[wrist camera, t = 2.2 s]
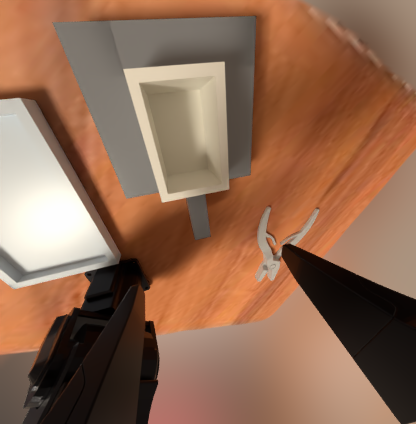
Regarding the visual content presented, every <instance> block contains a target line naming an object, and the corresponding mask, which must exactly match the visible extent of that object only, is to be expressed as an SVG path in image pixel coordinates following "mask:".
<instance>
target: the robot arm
mask: <svg viewBox="0 0 416 424" xmlns="http://www.w3.org/2000/svg"><path fill="white" fill-rule="evenodd" d="M281 255H282V258H283V260H284V261H285V263H286V265H287V266H288V268H289V270H290V271H291V273H292V275H293V276H294V278H295V279H296V281H297V282H298V284H299V285H300V286H301V288H302V289H303V291H304V292H305V293H306V295H307V296H308V297H309V299H310V300H311V301H312V303H313V304H314V306H315V307H316V308H317V310H318V311H319V312H320V314H321V315H322V316H323V318H324V319H325V321H326V322H327V323H328V325H329V326H330V327H331V329H332V330H333V331H334V333H335V334H336V336H337V337H338V338H339V340H340V341H341V343H342V344H343V345H344V347H345V348H346V350H347V351H348V352H349V354H350V355H351V356H352V357H353V359H354V361H355V362H356V363H357V365H358V366H359V368H360V369H361V370H362V372H363V373H364V374H365V376H366V377H367V379H368V380H369V381H370V383H371V384H372V385H373V387H374V388H375V390H376V391H377V392H378V394H379V395H380V396H381V397H382V399H383V401H384V402H385V403H386V405H387V406H388V407H389V409H390V410H391V411H392V413H393V414H394V416H395V417H396V418H397V419H398V421H399V422H400V423H401V424H409V423H413V422H416V299H414V298H411V297H409V296H406V295H404V294H401V293H398V292H396V291H393V290H391V289H389V288H386V287H384V286H382V285H379V284H377V283H375V282H372V281H370V280H368V279H366V278H364V277H361V276H359V275H356V274H355V273H353V272H350V271H348V270H346V269H344V268H342V267H339V266H337V265H335V264H333V263H331V262H329V261H327V260H325V259H323V258H320V257H318V256H316V255H314V254H312V253H310V252H307V251H305V250H303V249H301V248H299V247H297V246H294V245H292V244H290V243H288V244H284V245H283V247H282V252H281ZM133 262H135V263H133ZM85 276H86V278H87V279H88V280H89V281H90V282H91V284H90V286H89V288H88V290H87V292H86V295H85V297H84V299H85V300H84V303H83V305H82V307H81V309H80V308H75V307H74V308H73V310H72V311H71V312H70V313H69V315H67V314H66V315H64V316H60V317H57V318H56V319H55V320H54V322H53V324H52V326H51V328H50V329H49V331H48V333H47V335H46V337H45V339H44V341H43V342H42V344H41V347H40V349H39V351H38V353H37V356H36V358H35V360H34V363H33V365H32V367H31V369H30V371H29V374H28V378H29V381H30V386H29V389H28V394H27V397H26V400H25V403H24V406H23V409H26V408H30V409H29V411H28V413H27V415H26V417H25V419H24V421H23V423H22V424H148V419H149V413H150V409H151V404H152V400H153V396H154V394H155V391H156V388H157V385H158V380H156V379H157V375H158V370H159V352H158V345H157V340H156V334H155V328H154V322H153V321H145V293H144V291H146V290H149V289H150V284H149V282H148V280H147V278H146V276H145V274H144V272H143V270H142V268H141V266H140V264H139V262H138V260H137V259H130V260H126V261H122V262H119V264H115V265H111V266H107V267H103V268H99V269H95V270H91V271H87V272H85Z"/></svg>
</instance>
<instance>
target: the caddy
mask: <svg viewBox="0 0 416 424" xmlns="http://www.w3.org/2000/svg"><path fill="white" fill-rule="evenodd" d="M123 70H124V74H125V77H126V81H127V84H128V87H129V91H130V94H131V98H132V101H133V105H134V108H135V111H136V115H137V118H138V122H139V125H140V128H141V132H142V135H143V139H144V142H145V146H146V149H147V152H148V156H149V159H150V163H151V166H152V169H153V173H154V176H155V180H156V183H157V187H158V190H159V193H160V197H161V200H162V203H163V202H168V201H173V200H178V199H183V198H186V201H187V206H188V211H189V216H190V221H191V226H192V229H193V233H194V237H195V240H198V239H202V238H207V237H211V235H210V227H209V219H208V211H207V203H206V196H205V194H208V193H213V192H218V191H223V190H228V189H229V167H228V140H227V113H226V86H225V62H211V63H198V64H185V65H171V66H158V67H144V68H131V69H123Z"/></svg>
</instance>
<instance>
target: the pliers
mask: <svg viewBox="0 0 416 424" xmlns="http://www.w3.org/2000/svg"><path fill="white" fill-rule="evenodd" d="M270 210H271V207H266V209H265V211H264V213H263V215H262V217H261V220H260V223H259V227H258V234H257V240H258V245H259V247H260V249H261V250H262V252H263V255H264V256H263V258H264V260H263V261H262V263H261V264H260V266H259V268H258V270H257V272H256V274H255V278H256V279H257V281H261V280H262V278H263V277H264V276H265V275H266V273H267V272H268V273H267V276H268V277H269V279H270V280H274V278H275V276H276V274H277V271H278V269H279V266H280V261H279V260H278V259H279V258H280V257H281V252H282V247H283V246H282V247H280V249H279V250H278V251H277V253H276V254H275V255H273V254H272V251H271V248H270V247H269V245H268V243H267V241H266V237H269V238H271V239H272V241H273V244H274V245H276V243H275V240H274V238H273V237H272V236H271V235H270V234H267V233H266V228H267V222H268V218H269V214H270ZM318 212H319V209H318V208H315V210H314V211H313V213H312V215H311V216H310V218H309V219H308V221H307V222H306V223H305V225H304V226H303V227H302V229H301V230H300V231H298V232H297V233H294V234H292V235H290V236H288V237H286V238H285V239H284V240H283V241H282V242H280V244H281V245H283V244H284V243H285V242H286V241H287V240H289V239H291V238H292V239H291V240H290V241H289V242H287V243H286V244H288V243H290V244H292V245H296V244H297V243H298V242H299V241H300V240H301V239H302V238H303V236H304V235H305V234H306V233H307V232H308V230H309V229H310V227H311V226H312V224H313V223H314V221H315V219H316V217H317V215H318Z"/></svg>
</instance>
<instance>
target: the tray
mask: <svg viewBox="0 0 416 424" xmlns="http://www.w3.org/2000/svg"><path fill="white" fill-rule="evenodd" d="M120 258H121V253H120V252H119V250H118V248H117V246H116V244H115V243H114V241H113V239H112V237H111V235H110V234H109V232H108V230H107V228H106V226H105V225H104V223H103V221H102V219H101V217H100V216H99V214H98V212H97V210H96V208H95V207H94V205H93V203H92V201H91V200H90V198H89V196H88V194H87V192H86V191H85V189H84V187H83V185H82V183H81V182H80V180H79V178H78V176H77V174H76V173H75V171H74V169H73V167H72V165H71V164H70V162H69V160H68V158H67V156H66V155H65V153H64V151H63V149H62V147H61V146H60V144H59V142H58V140H57V138H56V137H55V135H54V133H53V131H52V130H51V128H50V126H49V124H48V122H47V121H46V119H45V117H44V115H43V113H42V112H41V110H40V108H39V106H38V104H37V103H36V101H35V100H30V99H24V98H13V99H2V100H0V279H2V280H3V281H4V282H5V283H7V284H8V285H9V286H10V287H12V288H13V289H17V288H21V287H25V286H29V285H33V284H37V283H41V282H46V281H50V280H54V279H58V278H62V277H66V276H70V275H74V274H78V273H82V272H87V271H91V270H95V269H99V268H103V267H107V266H111V265H115V264H119V261H120Z"/></svg>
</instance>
